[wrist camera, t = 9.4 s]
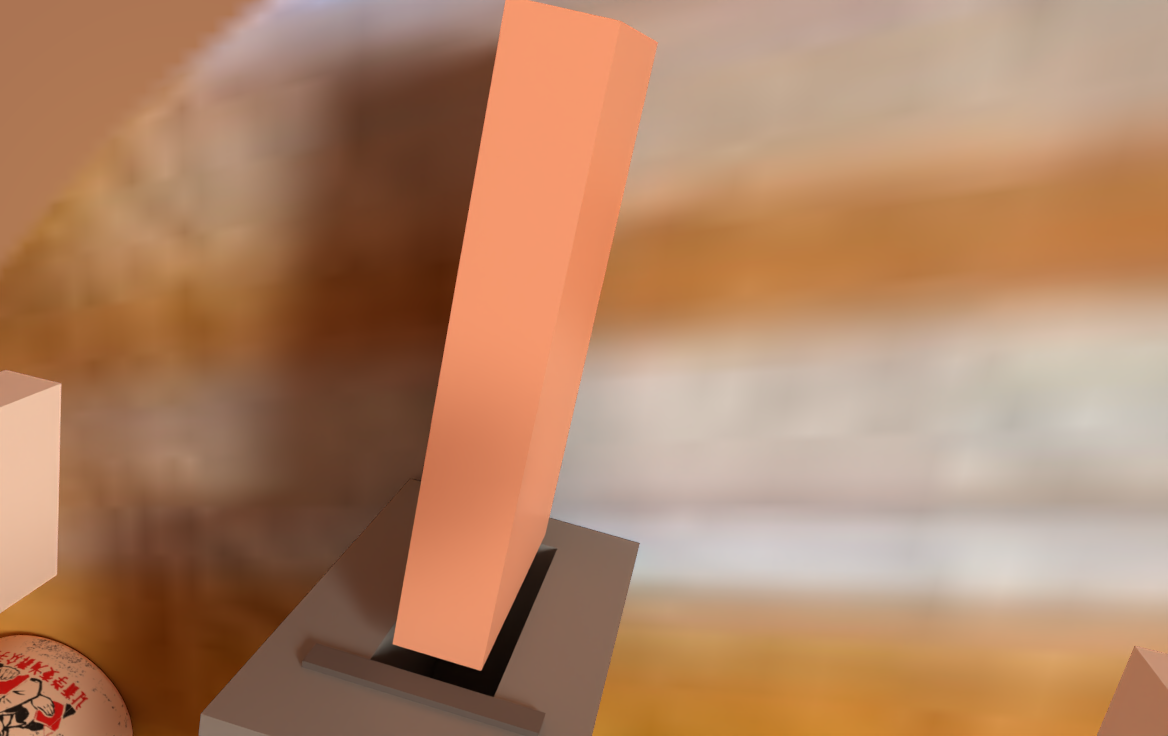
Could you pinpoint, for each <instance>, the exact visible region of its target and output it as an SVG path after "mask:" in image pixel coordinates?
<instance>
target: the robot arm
mask: <svg viewBox="0 0 1168 736" xmlns="http://www.w3.org/2000/svg"><path fill="white" fill-rule="evenodd" d="M60 418H61V383H58V382H54V381H49V380H45V379H41V378H37V377H33V376H29V375H25V374H21V373H17V372H13V371H9V370H4V371H2V372H0V613H1V612H3V611H4V610H6V609H7V608H8V607H10V606H11V605H13V604H14V603H16V602H17V601H19V600H20V599H22V598H23V597H25V596H26V595H28V594H29V593H31V592H32V591H34V590H35V589H37V588H38V587H40V586H41V585H43V584H44V583H46V582H47V581H49V580H50V579H52V578H53V577H55V576H56V575H57V554H58V509H59V463H60ZM1097 736H1168V654H1166V653H1162V652H1158V651H1154V650H1150V649H1146V648H1142V647H1138V646H1134V649H1133V651H1132V653H1131V656H1130V658H1129V661H1128V663H1127V665H1126V668H1125V670H1124V672H1123V675H1122V677H1121V680H1120V682H1119V684H1118V687H1117V689H1116V692H1115V694H1114V696H1113V699H1112V701H1111V703H1110V706H1109V708H1108V711H1107V713H1106V715H1105V718H1104V720H1103V722H1102V725H1101V727H1100V730H1099V732H1098V734H1097Z"/></svg>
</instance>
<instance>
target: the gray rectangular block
mask: <svg viewBox="0 0 1168 736" xmlns="http://www.w3.org/2000/svg"><path fill="white" fill-rule="evenodd" d="M420 485H421V481H417V480H414V479H410V480H409V481H408V482H407V483H406V484H405V485H404V486H403V487H402V489H401V490H400V491H399V492H398V493H397V494H396V495H395V496H394V498H393V499H392V500H391V501H390V502H389V503H388V504H387V505H386V507H385V508H384V509H383V510H382V511H381V512H380V513H379V514H378V516H377V517H376V518H375V519H374V520H373V521H372V522H371V523H370V525H369V526H368V527H367V528H366V529H365V530H364V531H363V532H362V533H361V535H360V536H359V537H358V538H357V539H356V540H355V541H354V542H353V544H352V545H351V546H350V547H349V548H348V549H347V550H346V551H345V553H344V554H343V555H342V556H341V557H340V558H339V559H338V560H337V562H336V563H335V564H334V565H333V566H332V567H331V568H330V569H329V571H328V572H327V573H326V574H325V575H324V576H323V577H322V578H321V579H320V581H319V582H318V583H317V584H316V585H315V586H314V587H313V588H312V590H311V591H310V592H309V593H308V594H307V595H306V596H305V597H304V599H303V600H302V601H301V602H300V603H299V604H298V605H297V606H296V608H295V609H294V610H293V611H292V612H291V613H290V614H289V615H288V617H287V618H286V619H285V620H284V621H283V622H282V623H281V624H280V625H279V627H278V628H277V629H276V630H275V631H274V632H273V633H272V634H271V636H270V637H269V638H268V639H267V640H266V641H265V642H264V643H263V645H262V646H261V647H260V648H259V649H258V650H257V651H256V652H255V654H254V655H253V656H252V657H251V658H250V659H249V660H248V661H247V663H246V664H245V665H244V666H243V667H242V668H241V669H240V670H239V671H238V673H237V674H236V675H235V676H234V677H233V678H232V679H231V680H230V682H229V683H228V684H227V685H226V686H225V687H224V688H223V689H222V691H221V692H220V693H219V694H218V695H217V696H216V697H215V698H214V700H213V701H212V702H211V703H210V704H209V705H208V706H207V707H206V709H205V710H204V711H203V712H202V713H201V716H200V726H199V736H592V733H593V728H594V724H595V720H596V716H597V712H598V708H599V704H600V700H601V696H602V692H603V688H604V684H605V680H606V676H607V672H608V668H609V664H610V660H611V656H612V652H613V648H614V644H615V640H616V636H617V632H618V628H619V624H620V620H621V616H622V612H623V608H624V604H625V600H626V596H627V592H628V588H629V584H630V580H631V576H632V572H633V568H634V564H635V560H636V556H637V552H638V548H639V544H640V543H637V542H633V541H630V540H626V539H622V538H619V537H615V536H612V535H608V534H605V533H601V532H598V531H594V530H591V529H587V528H583V527H580V526H576V525H573V524H569V523H566V522H562V521H559V520H555V519H552V518H549V521H548V525H547V529H546V534H545V536H544V538H543V540H542V543H541V545H540V547H539V549H538V551H537V553H536V555H535V557H534V560H533V562H532V564H531V566H530V568H529V570H528V572H527V575H526V577H525V579H524V581H523V583H522V585H521V587H520V589H519V592H518V594H517V596H516V598H515V600H514V602H513V604H512V606H511V609H510V611H509V613H508V615H507V617H506V619H505V621H504V623H503V626H502V628H501V630H500V632H499V634H498V636H497V638H496V641H495V643H494V645H493V647H492V649H491V651H490V653H489V655H488V658H487V660H486V662H485V664H484V666H483V668H482V670H481V671H480V670H476V669H473V668H470V667H466V666H463V665H460V664H456V663H453V662H450V661H447V660H443V659H440V658H437V657H433V656H430V655H427V654H423V653H420V652H417V651H413V650H410V649H407V648H404V647H400V646H397V645H394V644H393V639H394V633H395V627H396V622H397V616H398V610H399V605H400V599H401V593H402V587H403V582H404V576H405V570H406V565H407V559H408V553H409V548H410V542H411V536H412V531H413V525H414V519H415V513H416V508H417V502H418V496H419V491H420Z"/></svg>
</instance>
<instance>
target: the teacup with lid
mask: <svg viewBox="0 0 1168 736" xmlns="http://www.w3.org/2000/svg"><path fill="white" fill-rule="evenodd" d="M0 736H133V729H132V724H131V720H130V716H129V713H128V710H127V708H126V705H125V703H124V701H123V699H122V697H121V696H120V694H119V692H118V690H117V689H116V688H115V686H114V685H113V683H112V682H111V681H110V680H109V678H108V677H107V676H106V675H105V674H104V673H103V672H102V671H101V670H100V669H99V668H98V667H97V666H96V665H95V664H94V663H93V662H91V661H90V660H89V659H88V658H86V657H85V656H83V655H82V654H80V653H79V652H77V651H76V650H74V649H72V648H70V647H68V646H66V645H64V644H62V643H59V642H57V641H54V640H51V639H47V638H43V637H38V636H30V635H14V636H7V637H2V638H0Z"/></svg>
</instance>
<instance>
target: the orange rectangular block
mask: <svg viewBox="0 0 1168 736" xmlns="http://www.w3.org/2000/svg"><path fill="white" fill-rule="evenodd" d="M657 44H658V42H656V41H654V40H653V39H651V38H649V37H647V36H646V35H644V34H642V33H641V32H639V31H637V30H635V29H634V28H632V27H630V26H629V25H627V24H625V23H623V22H622V21H618V20H614V19H610V18H605V17H601V16H596V15H592V14H587V13H583V12H578V11H574V10H569V9H565V8H560V7H556V6H551V5H547V4H542V3H538V2H533V1H529V0H506V1H505V7H504V13H503V18H502V24H501V30H500V35H499V41H498V47H497V52H496V58H495V64H494V70H493V75H492V81H491V87H490V92H489V98H488V104H487V109H486V115H485V121H484V126H483V132H482V138H481V144H480V149H479V155H478V161H477V166H476V172H475V178H474V183H473V189H472V195H471V200H470V206H469V212H468V218H467V223H466V229H465V235H464V240H463V246H462V252H461V257H460V263H459V269H458V274H457V280H456V286H455V292H454V297H453V303H452V309H451V314H450V320H449V326H448V331H447V337H446V343H445V348H444V354H443V360H442V365H441V371H440V377H439V383H438V388H437V394H436V400H435V405H434V411H433V417H432V422H431V428H430V434H429V439H428V445H427V451H426V457H425V462H424V468H423V474H422V479H421V485H420V491H419V496H418V502H417V508H416V513H415V519H414V525H413V531H412V536H411V542H410V548H409V553H408V559H407V565H406V570H405V576H404V582H403V587H402V593H401V599H400V605H399V610H398V616H397V622H396V627H395V633H394V639H393V644H394V645H397V646H400V647H404V648H407V649H410V650H413V651H417V652H420V653H423V654H427V655H430V656H433V657H437V658H440V659H443V660H447V661H450V662H453V663H456V664H460V665H463V666H466V667H470V668H473V669H476V670H480V671H481V670H482V668H483V666H484V664H485V662H486V660H487V658H488V655H489V653H490V651H491V649H492V647H493V645H494V643H495V641H496V638H497V636H498V634H499V632H500V630H501V628H502V626H503V623H504V621H505V619H506V617H507V615H508V613H509V611H510V609H511V606H512V604H513V602H514V600H515V598H516V596H517V594H518V592H519V589H520V587H521V585H522V583H523V581H524V579H525V577H526V575H527V572H528V570H529V568H530V566H531V564H532V562H533V560H534V557H535V555H536V553H537V551H538V549H539V547H540V545H541V543H542V540H543V538H544V536H545V534H546V529H547V525H548V521H549V516H550V512H551V507H552V503H553V499H554V494H555V490H556V486H557V481H558V477H559V472H560V468H561V464H562V459H563V455H564V451H565V446H566V442H567V437H568V433H569V429H570V424H571V420H572V416H573V411H574V407H575V403H576V398H577V394H578V389H579V385H580V381H581V376H582V372H583V368H584V363H585V359H586V354H587V350H588V346H589V341H590V337H591V333H592V328H593V324H594V319H595V315H596V311H597V306H598V302H599V298H600V293H601V289H602V284H603V280H604V276H605V271H606V267H607V263H608V258H609V254H610V249H611V245H612V241H613V236H614V232H615V228H616V223H617V219H618V214H619V210H620V206H621V201H622V197H623V193H624V188H625V184H626V179H627V175H628V171H629V166H630V162H631V158H632V153H633V149H634V144H635V140H636V136H637V131H638V127H639V123H640V118H641V114H642V109H643V105H644V101H645V96H646V92H647V88H648V83H649V79H650V75H651V70H652V66H653V61H654V57H655V53H656V48H657Z"/></svg>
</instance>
